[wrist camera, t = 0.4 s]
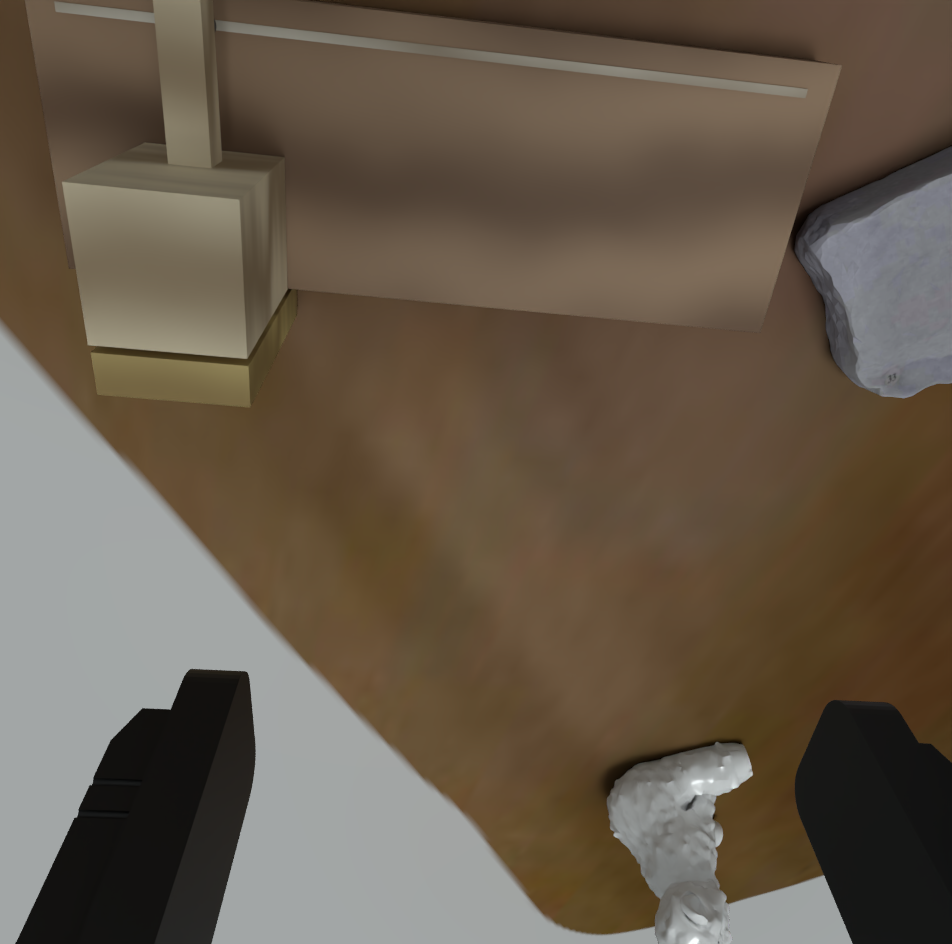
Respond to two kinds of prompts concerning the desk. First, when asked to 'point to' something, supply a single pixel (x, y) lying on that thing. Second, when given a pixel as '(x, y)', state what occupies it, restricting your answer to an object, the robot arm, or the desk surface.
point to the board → (474, 151)
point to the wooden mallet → (183, 243)
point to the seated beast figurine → (680, 836)
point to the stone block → (887, 277)
